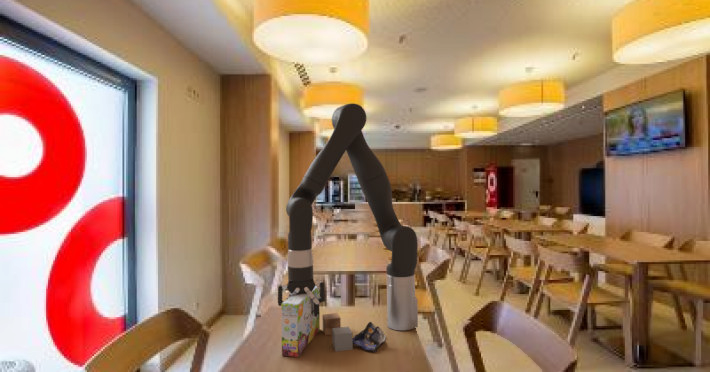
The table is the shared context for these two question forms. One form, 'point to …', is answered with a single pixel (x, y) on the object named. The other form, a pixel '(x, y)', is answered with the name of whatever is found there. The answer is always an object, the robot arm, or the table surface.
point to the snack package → (369, 338)
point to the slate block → (342, 338)
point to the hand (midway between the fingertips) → (301, 317)
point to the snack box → (298, 323)
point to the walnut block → (330, 322)
